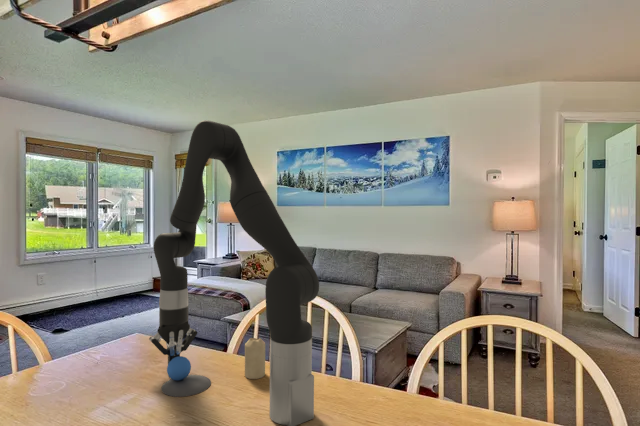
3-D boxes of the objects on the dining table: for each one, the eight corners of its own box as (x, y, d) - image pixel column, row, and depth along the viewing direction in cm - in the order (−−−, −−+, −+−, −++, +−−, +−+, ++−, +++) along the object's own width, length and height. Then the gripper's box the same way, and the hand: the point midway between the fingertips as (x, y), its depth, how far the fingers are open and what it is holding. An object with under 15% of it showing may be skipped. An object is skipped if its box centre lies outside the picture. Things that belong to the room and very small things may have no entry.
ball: (185, 358, 110) (190, 379, 107) (163, 364, 107) (167, 386, 104) (190, 350, 106) (195, 371, 103) (166, 356, 103) (171, 378, 100)
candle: (267, 371, 111) (267, 335, 110) (262, 379, 105) (262, 342, 105) (247, 370, 111) (248, 335, 111) (242, 378, 106) (242, 341, 105)
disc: (218, 387, 100) (218, 386, 100) (170, 401, 93) (170, 400, 93) (200, 371, 110) (200, 371, 110) (155, 383, 102) (155, 382, 102)
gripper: (152, 311, 102) (152, 378, 102) (202, 304, 110) (202, 366, 110) (144, 305, 108) (144, 369, 108) (192, 299, 116) (192, 357, 116)
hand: (173, 367), depth 109 cm, fingers closed
